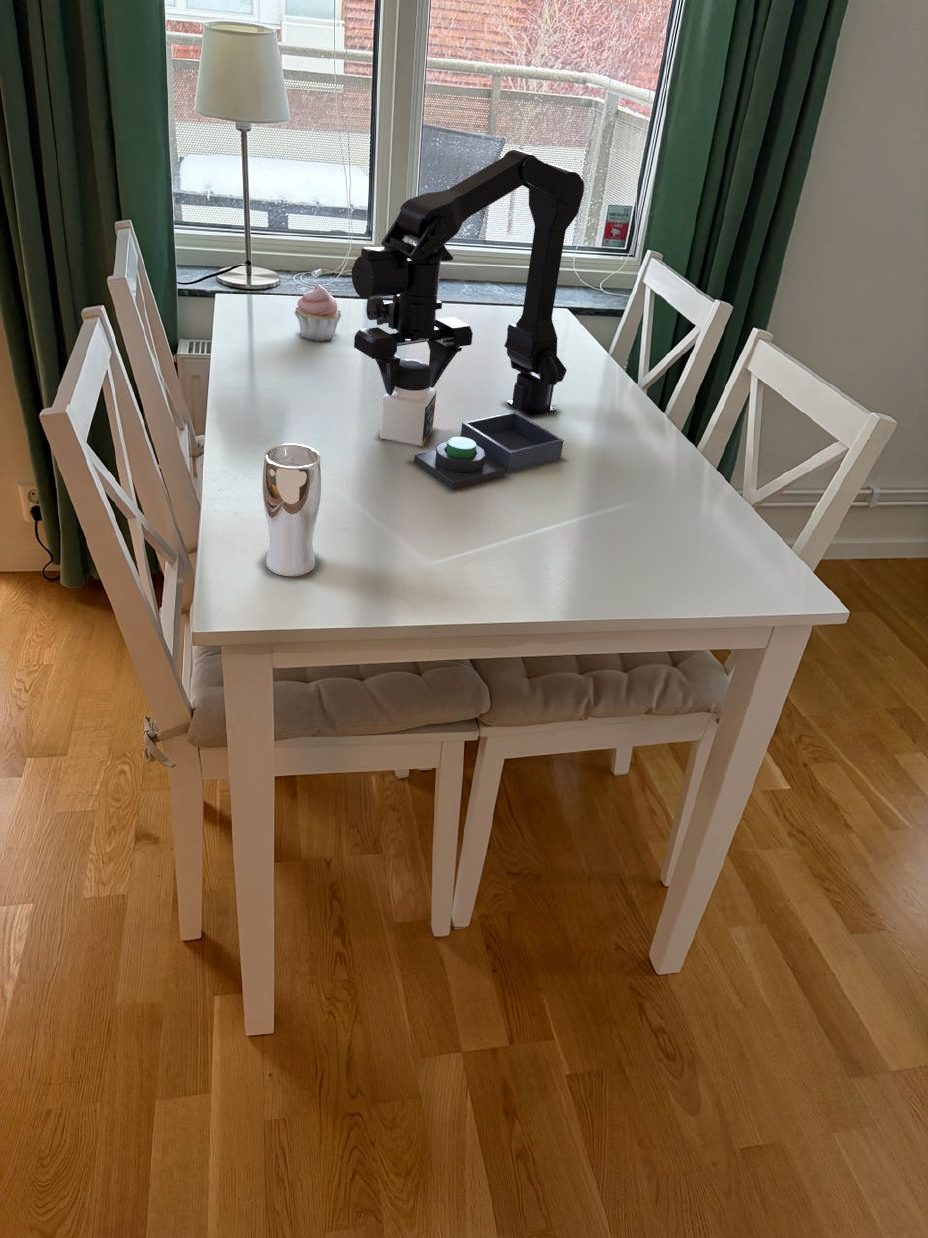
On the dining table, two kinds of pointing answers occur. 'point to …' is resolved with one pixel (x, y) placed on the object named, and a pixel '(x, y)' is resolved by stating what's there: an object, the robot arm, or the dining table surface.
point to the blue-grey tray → (513, 441)
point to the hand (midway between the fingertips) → (410, 390)
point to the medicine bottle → (409, 405)
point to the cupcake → (317, 314)
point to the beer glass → (291, 506)
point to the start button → (461, 447)
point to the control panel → (458, 467)
